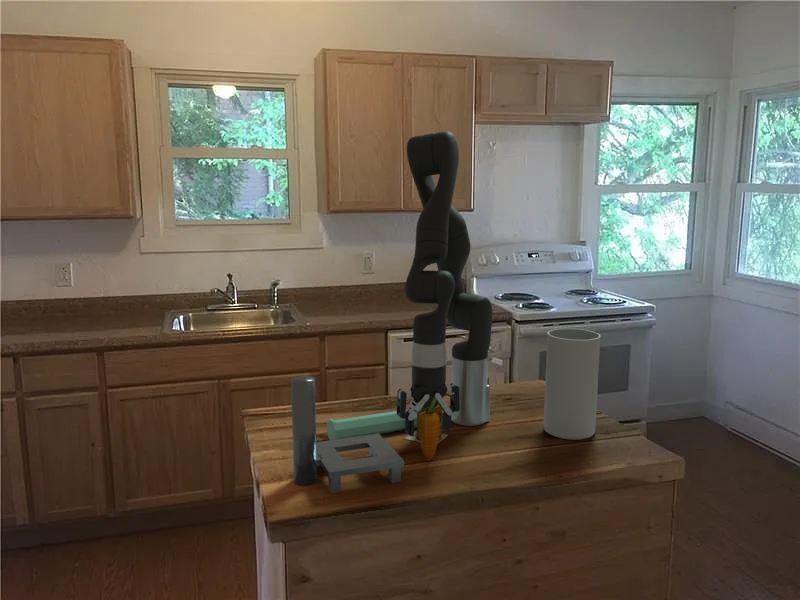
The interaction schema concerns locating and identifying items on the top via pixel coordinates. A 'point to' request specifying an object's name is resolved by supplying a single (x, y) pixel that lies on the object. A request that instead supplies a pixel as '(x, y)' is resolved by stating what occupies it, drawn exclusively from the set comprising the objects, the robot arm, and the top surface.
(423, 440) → the carrot
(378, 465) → the square hole stand
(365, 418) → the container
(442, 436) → the condiment
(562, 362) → the cylinder vase
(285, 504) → the top surface
